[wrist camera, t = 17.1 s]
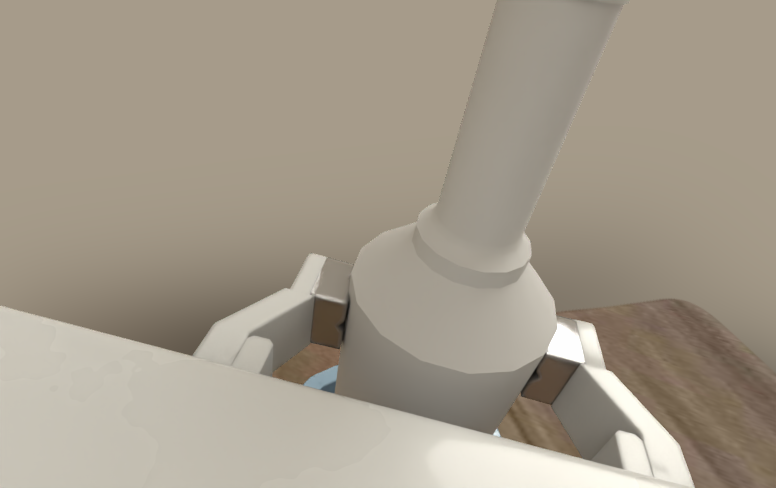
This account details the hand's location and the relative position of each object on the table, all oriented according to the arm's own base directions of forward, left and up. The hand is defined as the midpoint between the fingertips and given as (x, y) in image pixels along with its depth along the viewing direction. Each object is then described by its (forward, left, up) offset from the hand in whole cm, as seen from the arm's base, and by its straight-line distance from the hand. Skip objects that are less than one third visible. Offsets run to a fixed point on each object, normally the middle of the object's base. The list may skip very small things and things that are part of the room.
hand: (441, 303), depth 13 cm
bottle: (0, +1, -15) cm, 15 cm away
